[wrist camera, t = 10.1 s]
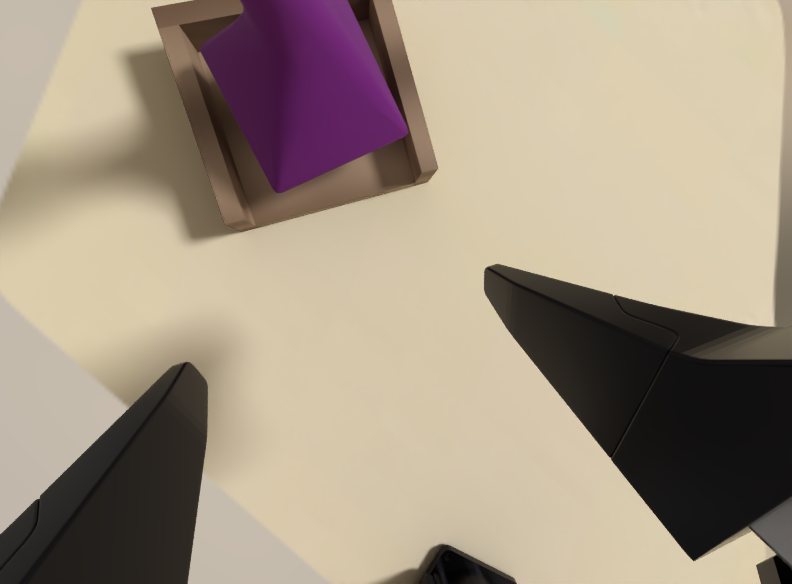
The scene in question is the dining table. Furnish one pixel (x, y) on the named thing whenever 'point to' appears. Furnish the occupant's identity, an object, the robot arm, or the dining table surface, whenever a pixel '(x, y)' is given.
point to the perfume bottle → (303, 87)
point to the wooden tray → (229, 149)
